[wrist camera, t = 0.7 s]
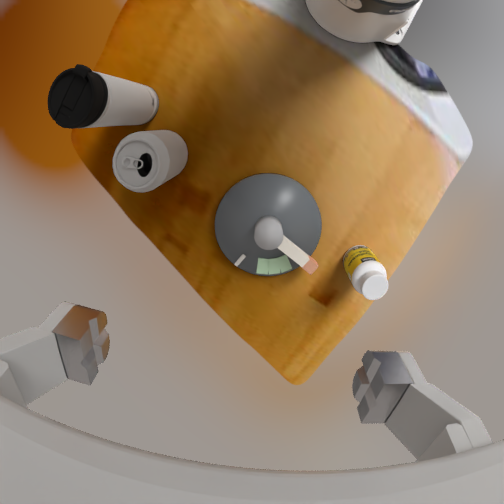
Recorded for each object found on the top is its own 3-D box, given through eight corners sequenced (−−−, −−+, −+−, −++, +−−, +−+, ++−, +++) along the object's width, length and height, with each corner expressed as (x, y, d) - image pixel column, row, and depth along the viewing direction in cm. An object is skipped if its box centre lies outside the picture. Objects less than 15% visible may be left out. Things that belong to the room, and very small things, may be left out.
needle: (249, 230, 47) (248, 238, 44) (266, 209, 46) (267, 216, 42) (303, 272, 49) (306, 283, 46) (320, 254, 48) (325, 263, 45)
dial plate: (260, 151, 44) (260, 151, 42) (341, 219, 47) (343, 221, 46) (195, 232, 49) (193, 235, 48) (274, 290, 52) (274, 294, 51)
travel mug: (168, 95, 41) (106, 78, 22) (145, 132, 43) (73, 140, 24) (136, 76, 40) (62, 55, 21) (115, 113, 42) (34, 114, 23)
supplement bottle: (366, 238, 48) (387, 263, 39) (376, 265, 50) (397, 294, 41) (336, 253, 49) (352, 281, 40) (348, 279, 51) (364, 311, 42)
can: (183, 183, 46) (158, 202, 35) (138, 172, 45) (102, 188, 34) (194, 135, 43) (172, 138, 32) (147, 125, 43) (112, 127, 31)
